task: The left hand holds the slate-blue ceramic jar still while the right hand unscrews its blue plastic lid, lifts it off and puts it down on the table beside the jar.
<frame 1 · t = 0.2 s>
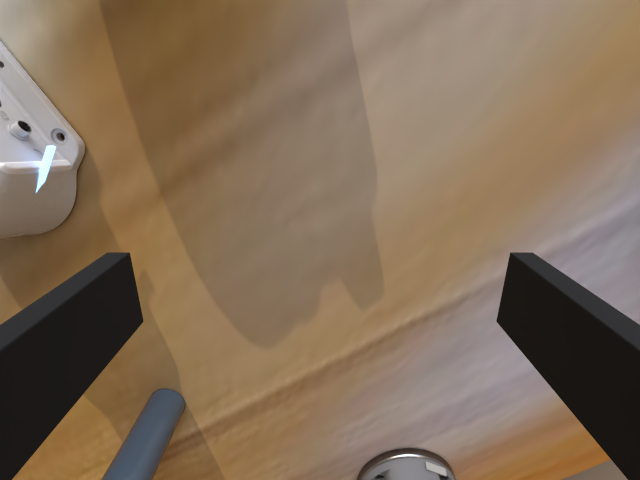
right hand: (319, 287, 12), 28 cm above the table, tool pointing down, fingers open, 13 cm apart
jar: (167, 402, 50), on the table
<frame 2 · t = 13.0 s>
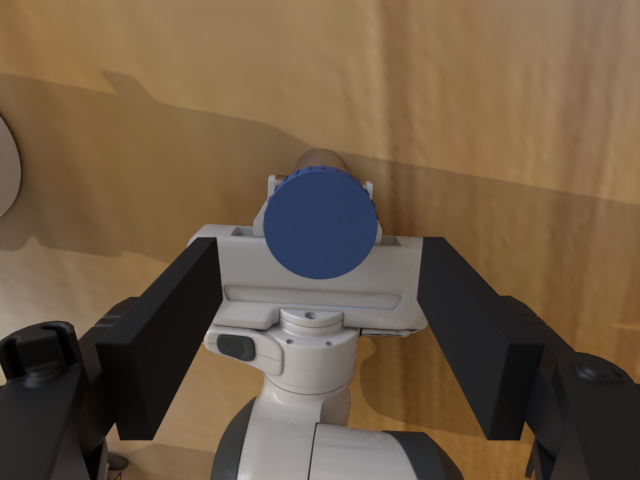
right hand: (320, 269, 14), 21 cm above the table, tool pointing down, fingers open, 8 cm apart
left hand: (320, 178, 27), fingers closed on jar, 5 cm apart
figurine: (95, 462, 46), on the table
lid: (320, 226, 19), point 15 cm above the table, screwed on, not yet turned
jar: (320, 175, 33), on the table, touching left hand
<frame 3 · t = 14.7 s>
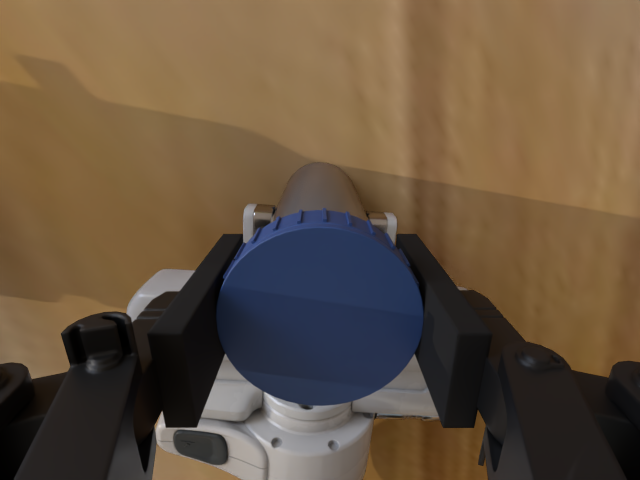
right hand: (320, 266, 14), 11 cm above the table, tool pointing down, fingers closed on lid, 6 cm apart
lid: (319, 319, 11), point 15 cm above the table, screwed on, not yet turned, touching right hand
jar: (319, 198, 25), on the table, touching left hand
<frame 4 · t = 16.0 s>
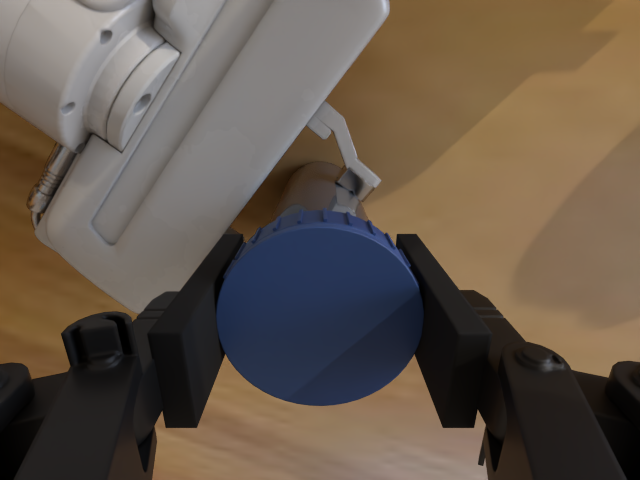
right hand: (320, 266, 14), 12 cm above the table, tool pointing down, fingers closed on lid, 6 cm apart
left hand: (333, 233, 19), fingers closed on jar, 5 cm apart
lid: (319, 319, 11), point 16 cm above the table, off its thread, touching right hand
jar: (319, 197, 25), on the table, touching left hand
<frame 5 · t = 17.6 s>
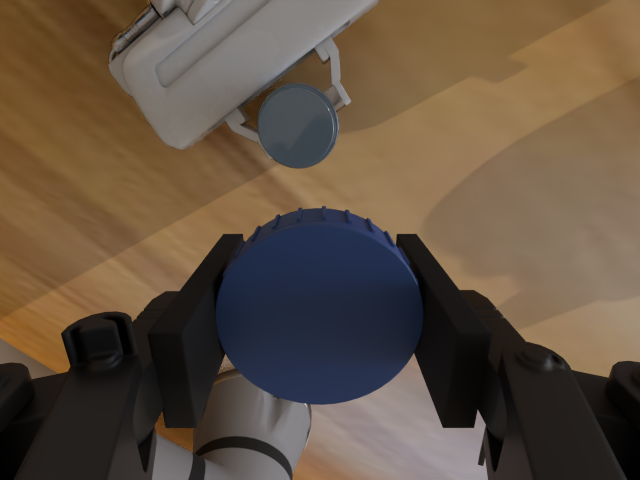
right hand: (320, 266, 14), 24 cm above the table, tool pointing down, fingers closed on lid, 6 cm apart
left hand: (310, 130, 29), fingers closed on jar, 5 cm apart
lid: (319, 317, 11), point 27 cm above the table, off its thread, touching right hand
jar: (307, 118, 35), on the table, touching left hand
when the right hand's fingers open (0 cm above the table, at t = 21.5 s): lid stays where it is, point 1 cm above the table.
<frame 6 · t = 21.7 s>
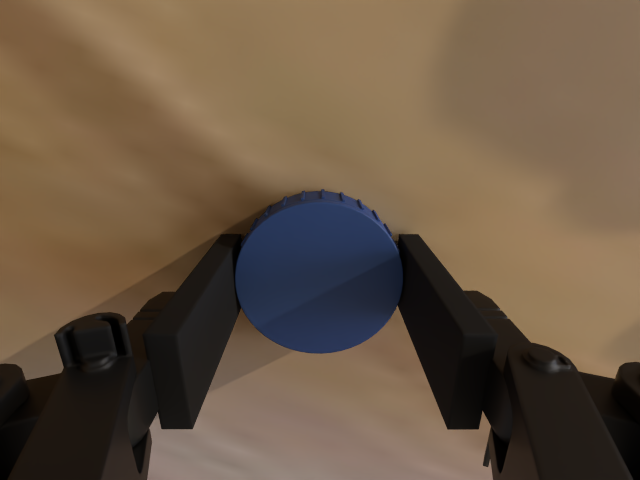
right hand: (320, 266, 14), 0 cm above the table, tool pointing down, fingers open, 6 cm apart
lid: (319, 279, 13), point 1 cm above the table, off its thread
when the left hand's fingers open (6 cm above the table, at t = 22.6 s): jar stays where it is, on the table.
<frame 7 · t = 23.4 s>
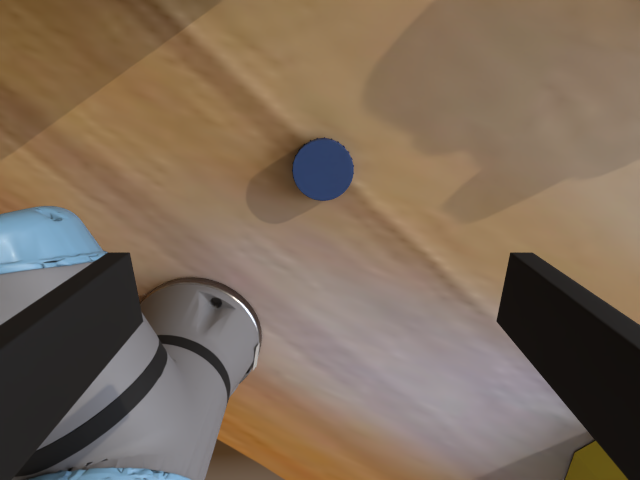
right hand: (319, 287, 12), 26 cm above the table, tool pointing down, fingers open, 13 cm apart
lid: (323, 170, 35), point 1 cm above the table, off its thread
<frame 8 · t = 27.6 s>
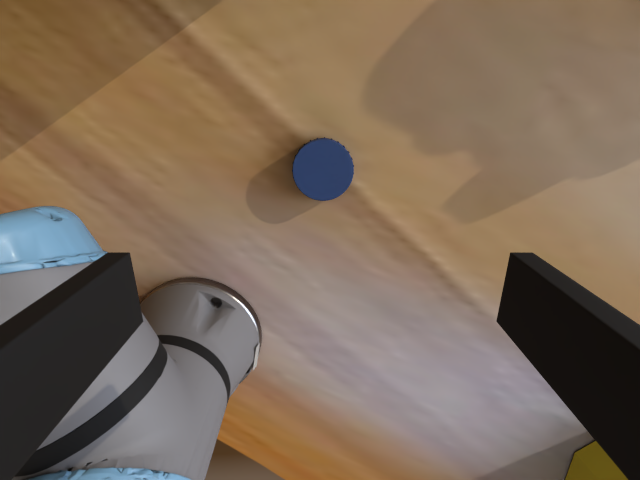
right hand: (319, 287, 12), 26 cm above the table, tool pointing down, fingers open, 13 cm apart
lid: (323, 170, 35), point 1 cm above the table, off its thread
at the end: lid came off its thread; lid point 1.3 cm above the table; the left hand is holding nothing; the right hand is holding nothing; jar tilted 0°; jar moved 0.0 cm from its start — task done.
